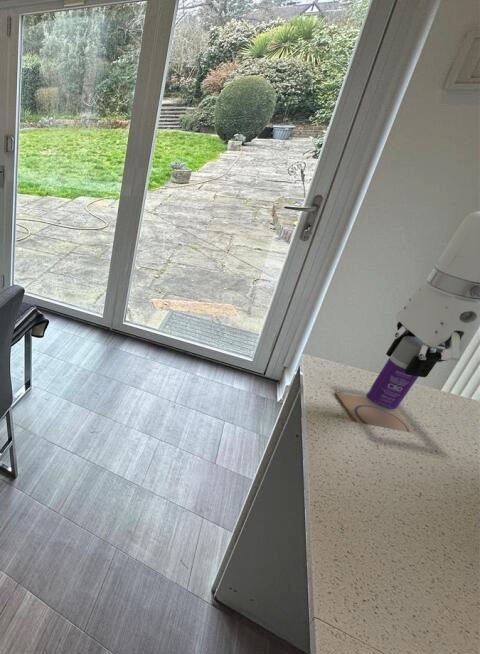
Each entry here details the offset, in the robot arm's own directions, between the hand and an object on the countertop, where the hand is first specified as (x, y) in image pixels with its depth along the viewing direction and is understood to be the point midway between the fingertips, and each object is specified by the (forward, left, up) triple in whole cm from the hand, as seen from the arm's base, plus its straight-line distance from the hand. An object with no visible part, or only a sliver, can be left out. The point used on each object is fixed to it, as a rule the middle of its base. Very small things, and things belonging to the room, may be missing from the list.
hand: (405, 364), depth 79 cm
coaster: (-1, +1, -14) cm, 14 cm away
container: (0, 0, -10) cm, 10 cm away
